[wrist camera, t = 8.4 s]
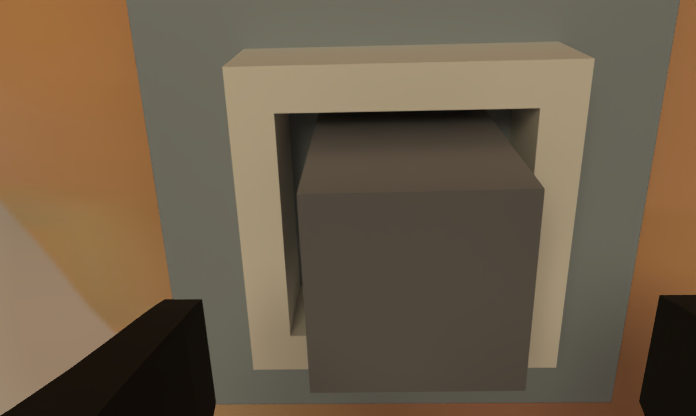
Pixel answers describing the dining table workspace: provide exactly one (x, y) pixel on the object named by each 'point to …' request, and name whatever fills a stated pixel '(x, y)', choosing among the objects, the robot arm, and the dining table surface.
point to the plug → (417, 253)
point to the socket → (398, 95)
